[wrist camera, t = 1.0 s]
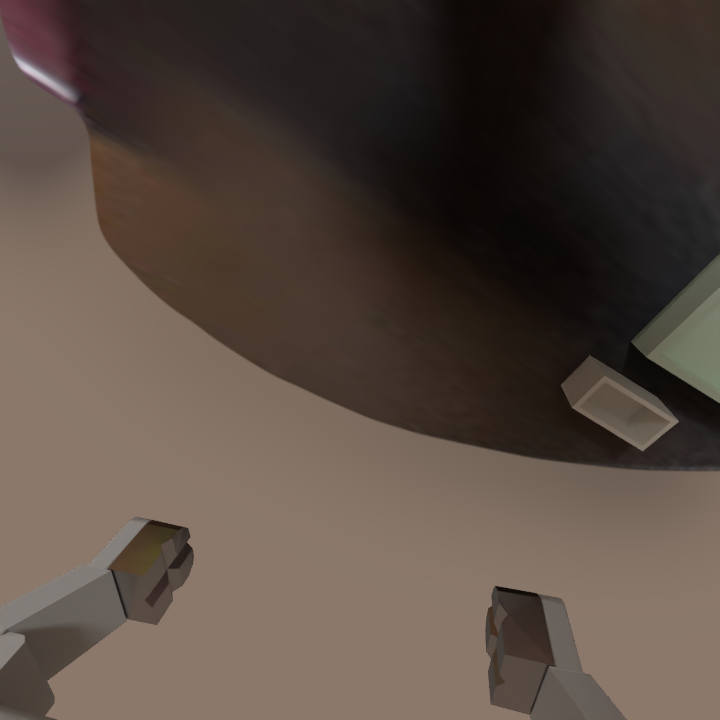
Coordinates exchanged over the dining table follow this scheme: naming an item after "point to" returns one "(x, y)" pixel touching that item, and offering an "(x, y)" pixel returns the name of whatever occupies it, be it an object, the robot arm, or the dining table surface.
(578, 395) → the small tote
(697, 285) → the box
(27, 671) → the robot arm
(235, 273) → the dining table surface
